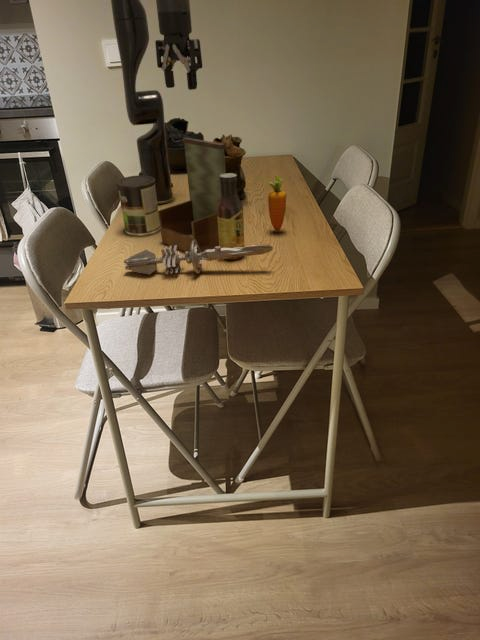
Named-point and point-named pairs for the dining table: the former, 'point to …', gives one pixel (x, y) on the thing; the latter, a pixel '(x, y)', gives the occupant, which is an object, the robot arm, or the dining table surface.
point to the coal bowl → (178, 141)
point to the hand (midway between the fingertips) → (181, 88)
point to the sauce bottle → (230, 214)
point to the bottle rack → (196, 199)
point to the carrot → (277, 204)
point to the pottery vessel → (234, 160)
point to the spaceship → (188, 257)
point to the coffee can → (139, 205)
